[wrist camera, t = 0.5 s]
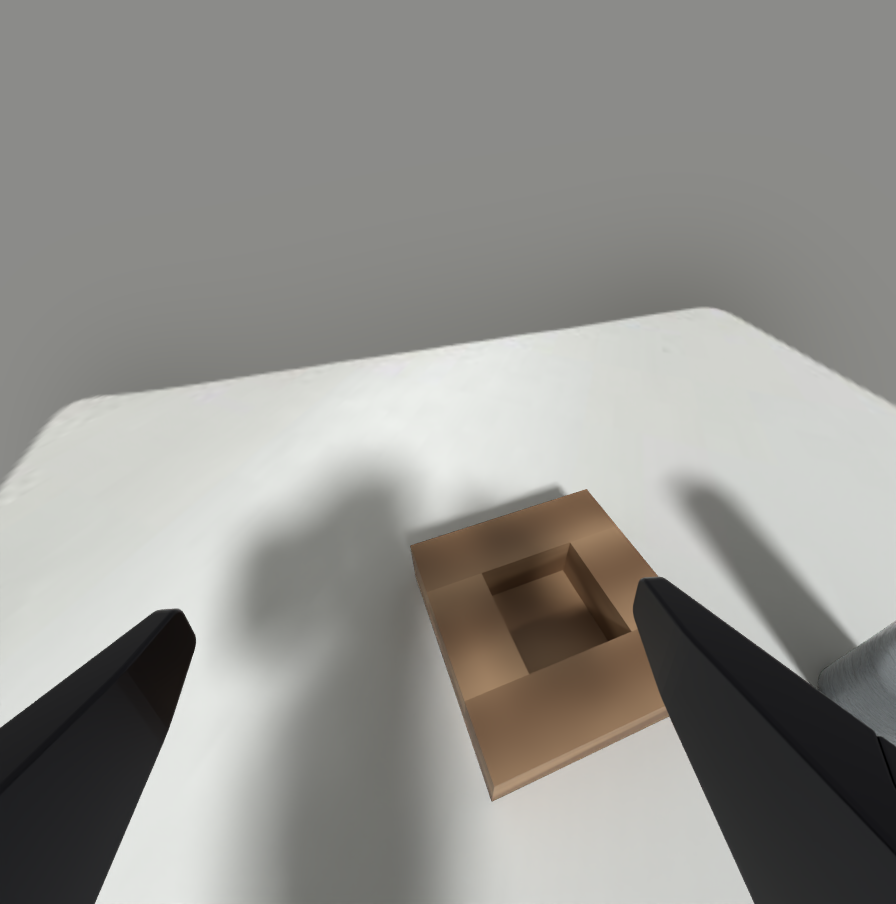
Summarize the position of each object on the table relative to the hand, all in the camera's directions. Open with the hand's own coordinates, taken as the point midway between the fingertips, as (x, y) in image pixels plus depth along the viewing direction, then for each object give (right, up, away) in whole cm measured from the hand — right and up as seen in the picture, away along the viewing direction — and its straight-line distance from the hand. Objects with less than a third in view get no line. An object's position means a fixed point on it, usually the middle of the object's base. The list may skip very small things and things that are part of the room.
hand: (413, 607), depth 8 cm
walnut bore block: (+6, -7, +16) cm, 19 cm away
